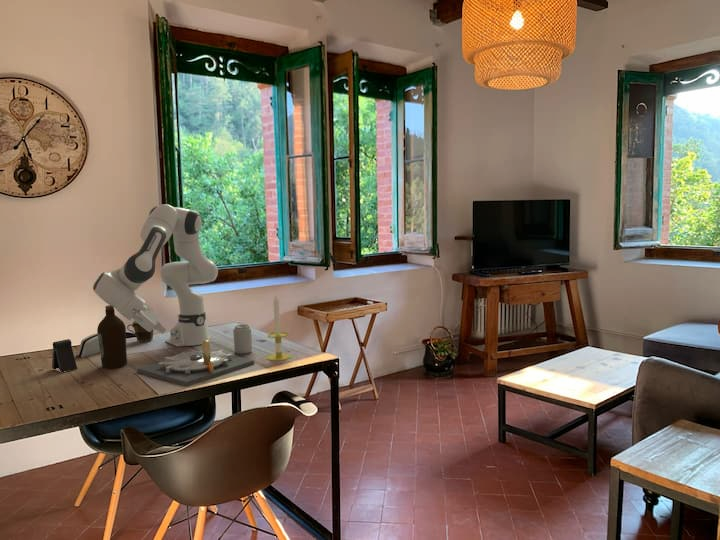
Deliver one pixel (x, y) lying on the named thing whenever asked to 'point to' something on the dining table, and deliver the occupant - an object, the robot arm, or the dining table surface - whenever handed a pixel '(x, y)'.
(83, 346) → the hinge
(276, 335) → the candle
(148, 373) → the index plate
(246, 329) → the can
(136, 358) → the dining table surface
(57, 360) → the door stopper
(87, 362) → the dining table surface
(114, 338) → the olive oil
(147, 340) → the ceramic cup
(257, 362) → the dining table surface
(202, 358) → the sprocket
